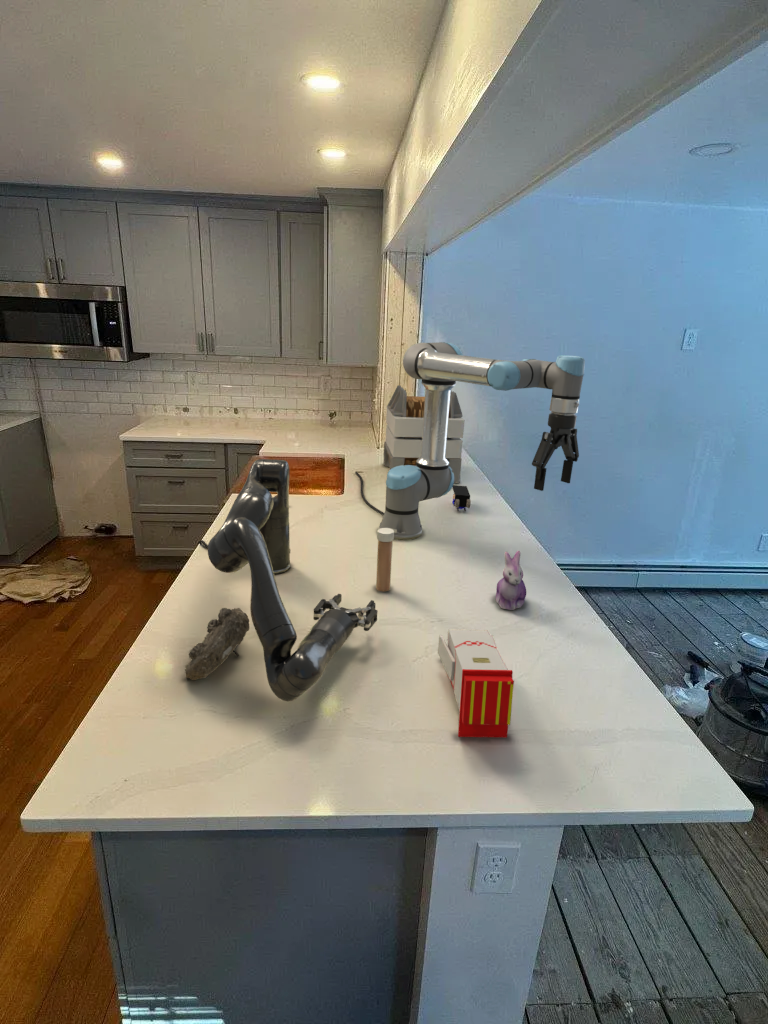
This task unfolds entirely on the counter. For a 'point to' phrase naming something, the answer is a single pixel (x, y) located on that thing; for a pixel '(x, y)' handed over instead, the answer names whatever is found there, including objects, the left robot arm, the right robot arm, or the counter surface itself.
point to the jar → (384, 566)
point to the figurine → (511, 584)
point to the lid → (385, 534)
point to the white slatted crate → (419, 431)
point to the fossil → (217, 643)
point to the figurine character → (461, 497)
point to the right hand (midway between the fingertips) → (552, 485)
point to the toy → (478, 682)
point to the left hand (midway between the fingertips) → (356, 600)
